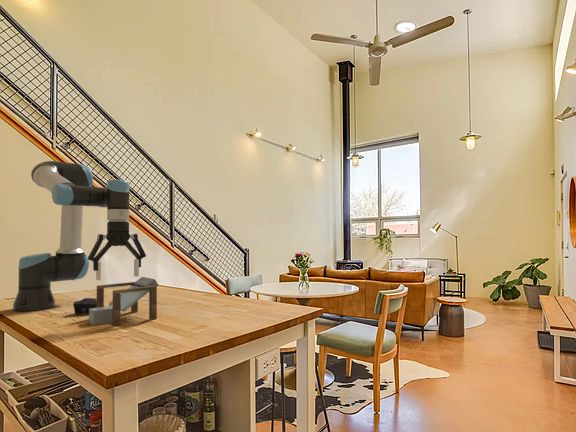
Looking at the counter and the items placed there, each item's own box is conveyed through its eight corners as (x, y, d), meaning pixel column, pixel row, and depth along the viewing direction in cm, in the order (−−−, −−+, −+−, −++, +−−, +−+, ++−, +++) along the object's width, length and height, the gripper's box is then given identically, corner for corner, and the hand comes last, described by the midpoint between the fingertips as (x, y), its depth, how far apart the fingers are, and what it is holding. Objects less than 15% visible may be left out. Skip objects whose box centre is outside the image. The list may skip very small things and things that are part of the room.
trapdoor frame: (96, 317, 143) (96, 285, 144) (135, 311, 154) (135, 281, 154) (114, 326, 129) (114, 291, 129) (156, 318, 139) (156, 286, 139)
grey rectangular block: (112, 318, 141) (88, 322, 135) (112, 305, 141) (89, 308, 136) (117, 321, 136) (94, 325, 131) (117, 307, 137) (94, 311, 131)
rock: (82, 310, 157) (82, 296, 157) (104, 309, 159) (104, 295, 159) (72, 315, 147) (72, 301, 147) (96, 314, 149) (96, 300, 149)
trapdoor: (111, 307, 145) (106, 302, 144) (144, 282, 154) (140, 276, 153) (125, 313, 134) (121, 307, 133) (160, 285, 143) (156, 279, 142)
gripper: (84, 220, 129) (84, 282, 128) (154, 221, 146) (154, 275, 146) (78, 221, 135) (78, 280, 134) (147, 221, 152) (146, 274, 151)
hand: (118, 278), depth 140 cm, fingers open, 13 cm apart
